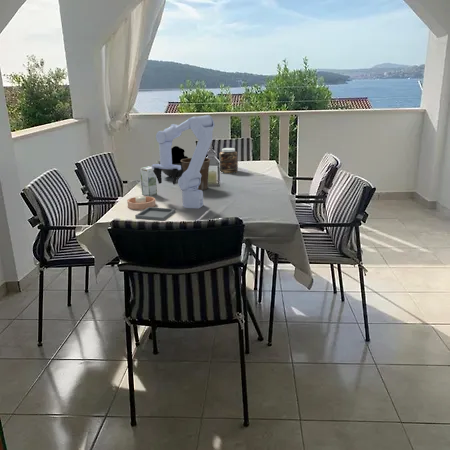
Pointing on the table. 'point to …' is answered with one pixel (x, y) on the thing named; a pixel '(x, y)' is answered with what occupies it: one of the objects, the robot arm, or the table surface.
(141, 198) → the cream cup
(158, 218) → the tray
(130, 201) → the bowl
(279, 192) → the table surface
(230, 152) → the jar
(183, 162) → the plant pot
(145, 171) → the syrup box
